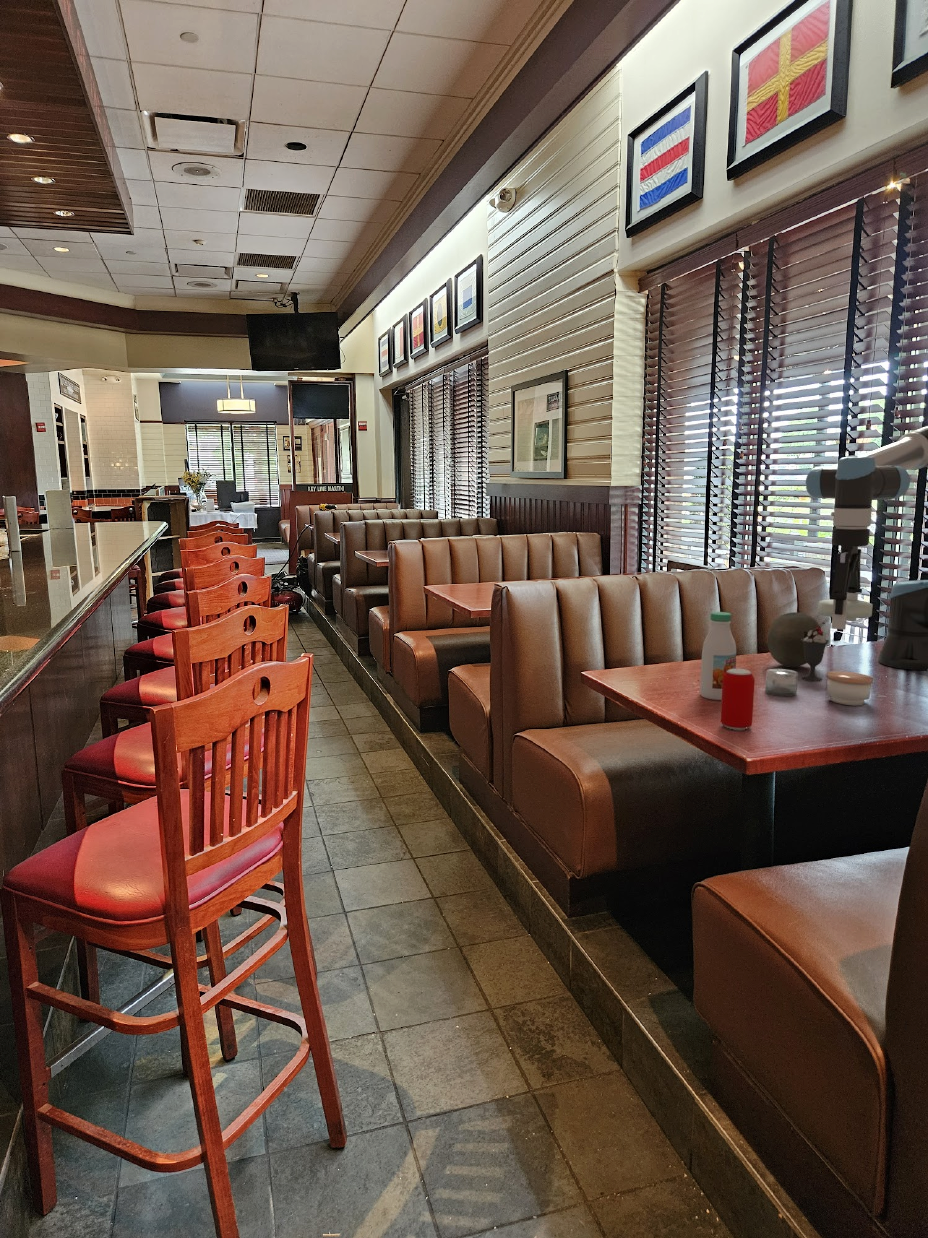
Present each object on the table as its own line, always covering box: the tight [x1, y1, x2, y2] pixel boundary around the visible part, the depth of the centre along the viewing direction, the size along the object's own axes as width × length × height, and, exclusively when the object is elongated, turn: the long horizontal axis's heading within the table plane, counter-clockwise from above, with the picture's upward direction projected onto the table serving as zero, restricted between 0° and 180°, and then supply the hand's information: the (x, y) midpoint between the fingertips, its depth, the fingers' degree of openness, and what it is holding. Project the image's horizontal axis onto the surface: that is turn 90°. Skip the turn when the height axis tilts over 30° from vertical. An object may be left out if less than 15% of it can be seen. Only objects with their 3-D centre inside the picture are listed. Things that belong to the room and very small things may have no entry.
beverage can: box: [720, 668, 756, 731], centre depth 165 cm, size 6×6×12 cm
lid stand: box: [764, 668, 799, 697], centre depth 192 cm, size 7×7×5 cm
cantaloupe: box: [766, 612, 821, 668], centre depth 216 cm, size 14×14×15 cm
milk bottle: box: [699, 611, 737, 701], centre depth 188 cm, size 8×8×20 cm
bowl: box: [825, 670, 874, 706], centre depth 184 cm, size 10×10×6 cm
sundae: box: [800, 622, 830, 682], centre depth 204 cm, size 7×7×15 cm
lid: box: [817, 599, 874, 619], centre depth 182 cm, size 11×11×2 cm
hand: (843, 624), depth 182 cm, fingers closed on lid, 11 cm apart
